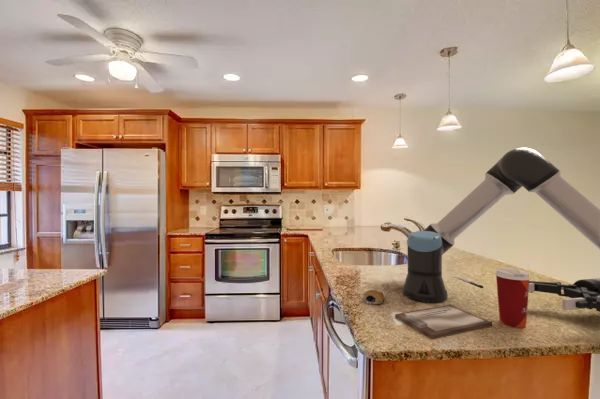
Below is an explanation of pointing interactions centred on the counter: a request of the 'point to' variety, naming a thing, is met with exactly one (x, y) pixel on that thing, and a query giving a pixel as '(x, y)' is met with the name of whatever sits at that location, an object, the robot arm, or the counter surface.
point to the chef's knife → (470, 282)
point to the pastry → (373, 297)
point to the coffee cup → (512, 296)
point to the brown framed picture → (442, 321)
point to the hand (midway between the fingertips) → (537, 296)
